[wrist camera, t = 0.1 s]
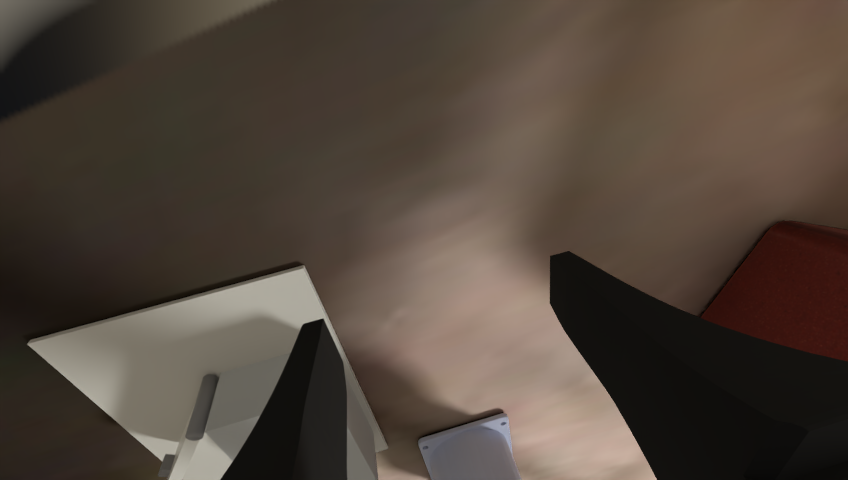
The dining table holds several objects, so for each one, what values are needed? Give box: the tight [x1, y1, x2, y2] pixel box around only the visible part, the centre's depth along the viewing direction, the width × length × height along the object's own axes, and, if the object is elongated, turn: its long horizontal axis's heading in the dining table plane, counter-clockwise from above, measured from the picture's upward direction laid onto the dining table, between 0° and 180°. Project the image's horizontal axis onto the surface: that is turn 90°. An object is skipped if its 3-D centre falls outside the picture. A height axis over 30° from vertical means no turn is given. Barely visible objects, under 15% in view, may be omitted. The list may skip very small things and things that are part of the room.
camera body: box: [205, 353, 378, 480], centre depth 27 cm, size 11×8×5 cm
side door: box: [158, 374, 219, 480], centre depth 25 cm, size 8×1×4 cm, turn 151°
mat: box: [28, 265, 388, 480], centre depth 28 cm, size 20×15×1 cm
